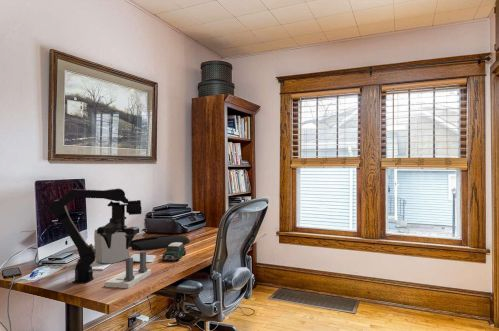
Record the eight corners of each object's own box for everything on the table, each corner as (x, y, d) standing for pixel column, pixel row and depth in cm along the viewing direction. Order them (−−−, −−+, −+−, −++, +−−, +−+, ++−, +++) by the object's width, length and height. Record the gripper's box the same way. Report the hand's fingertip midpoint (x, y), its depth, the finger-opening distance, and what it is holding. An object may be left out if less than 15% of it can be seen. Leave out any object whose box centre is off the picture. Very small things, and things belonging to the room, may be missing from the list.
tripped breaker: (124, 280, 141) (124, 259, 142) (128, 277, 145) (128, 257, 145) (130, 280, 141) (130, 259, 141) (134, 278, 144) (134, 257, 145)
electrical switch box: (118, 259, 193) (116, 224, 195) (129, 260, 182) (127, 223, 185) (92, 264, 183) (90, 227, 185) (102, 265, 172) (100, 226, 174)
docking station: (196, 244, 223) (196, 237, 223) (135, 253, 200) (135, 244, 200) (181, 238, 244) (181, 231, 244) (124, 245, 221) (124, 237, 221)
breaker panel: (104, 286, 141) (104, 281, 141) (129, 272, 160) (129, 268, 160) (128, 288, 139) (128, 283, 139) (150, 273, 158) (150, 269, 158)
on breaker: (138, 271, 153) (138, 252, 153) (142, 269, 157) (142, 250, 157) (143, 272, 153) (143, 252, 153) (147, 269, 156) (147, 250, 156)
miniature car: (161, 262, 179) (161, 247, 179) (172, 254, 197) (172, 240, 197) (177, 262, 178) (177, 247, 178) (186, 254, 196) (186, 240, 196)
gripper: (89, 217, 148) (88, 252, 148) (127, 218, 145) (127, 254, 144) (104, 214, 159) (104, 246, 159) (140, 215, 156) (139, 248, 155)
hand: (118, 248), depth 154 cm, fingers open, 9 cm apart
